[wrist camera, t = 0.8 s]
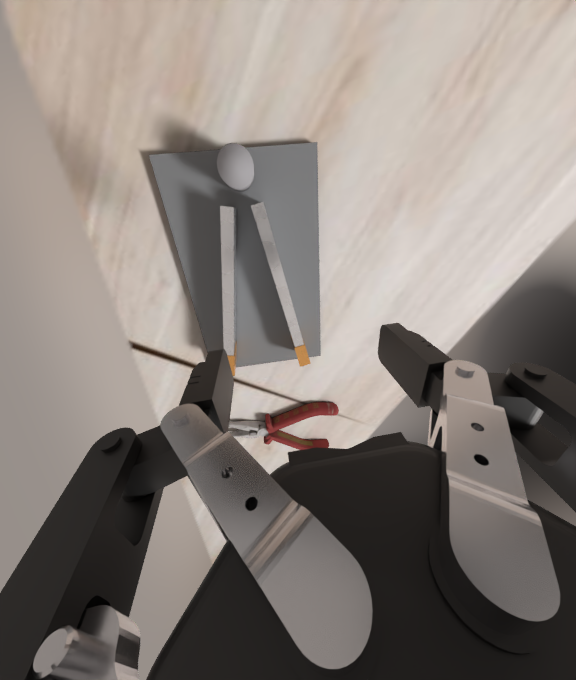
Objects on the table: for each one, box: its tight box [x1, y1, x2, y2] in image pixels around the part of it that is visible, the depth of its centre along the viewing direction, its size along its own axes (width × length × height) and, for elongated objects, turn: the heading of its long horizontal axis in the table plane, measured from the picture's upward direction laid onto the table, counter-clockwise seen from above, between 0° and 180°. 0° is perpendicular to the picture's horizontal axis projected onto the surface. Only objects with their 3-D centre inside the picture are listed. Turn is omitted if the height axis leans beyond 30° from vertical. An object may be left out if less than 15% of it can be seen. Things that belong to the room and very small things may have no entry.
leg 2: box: [251, 202, 310, 367], centre depth 28 cm, size 19×1×4 cm, turn 16°
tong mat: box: [149, 142, 321, 367], centre depth 27 cm, size 25×16×6 cm, turn 5°
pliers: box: [229, 402, 339, 450], centre depth 42 cm, size 12×20×3 cm, turn 84°
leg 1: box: [220, 206, 237, 376], centre depth 27 cm, size 19×1×4 cm, turn 174°
